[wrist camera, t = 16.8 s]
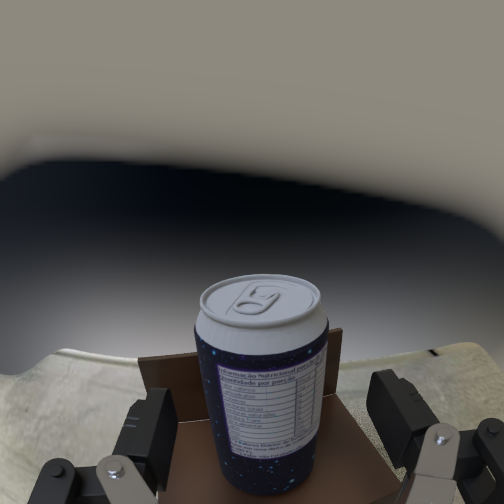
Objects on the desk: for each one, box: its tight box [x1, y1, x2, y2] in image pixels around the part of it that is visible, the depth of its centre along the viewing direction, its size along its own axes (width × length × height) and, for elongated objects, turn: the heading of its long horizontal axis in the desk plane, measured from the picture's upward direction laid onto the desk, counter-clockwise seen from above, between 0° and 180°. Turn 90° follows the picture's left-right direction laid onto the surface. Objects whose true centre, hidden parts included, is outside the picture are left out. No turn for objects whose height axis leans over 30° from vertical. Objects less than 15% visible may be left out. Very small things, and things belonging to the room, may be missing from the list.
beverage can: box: [194, 274, 329, 495], centre depth 14 cm, size 6×6×12 cm
